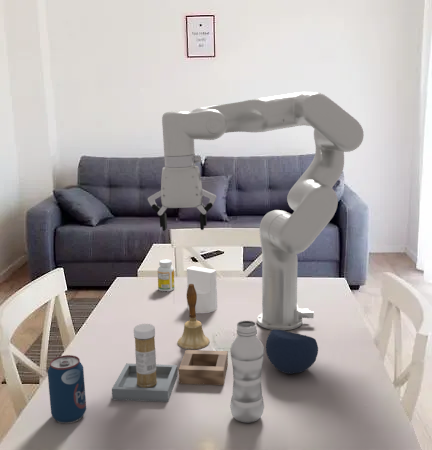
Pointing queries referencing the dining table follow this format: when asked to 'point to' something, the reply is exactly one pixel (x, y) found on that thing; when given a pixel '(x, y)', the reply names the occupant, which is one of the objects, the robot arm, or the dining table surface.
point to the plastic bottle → (247, 373)
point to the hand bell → (192, 325)
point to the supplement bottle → (165, 275)
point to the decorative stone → (291, 351)
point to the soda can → (66, 389)
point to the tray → (131, 391)
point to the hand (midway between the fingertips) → (183, 229)
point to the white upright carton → (203, 288)
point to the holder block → (203, 367)
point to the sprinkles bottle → (145, 355)
